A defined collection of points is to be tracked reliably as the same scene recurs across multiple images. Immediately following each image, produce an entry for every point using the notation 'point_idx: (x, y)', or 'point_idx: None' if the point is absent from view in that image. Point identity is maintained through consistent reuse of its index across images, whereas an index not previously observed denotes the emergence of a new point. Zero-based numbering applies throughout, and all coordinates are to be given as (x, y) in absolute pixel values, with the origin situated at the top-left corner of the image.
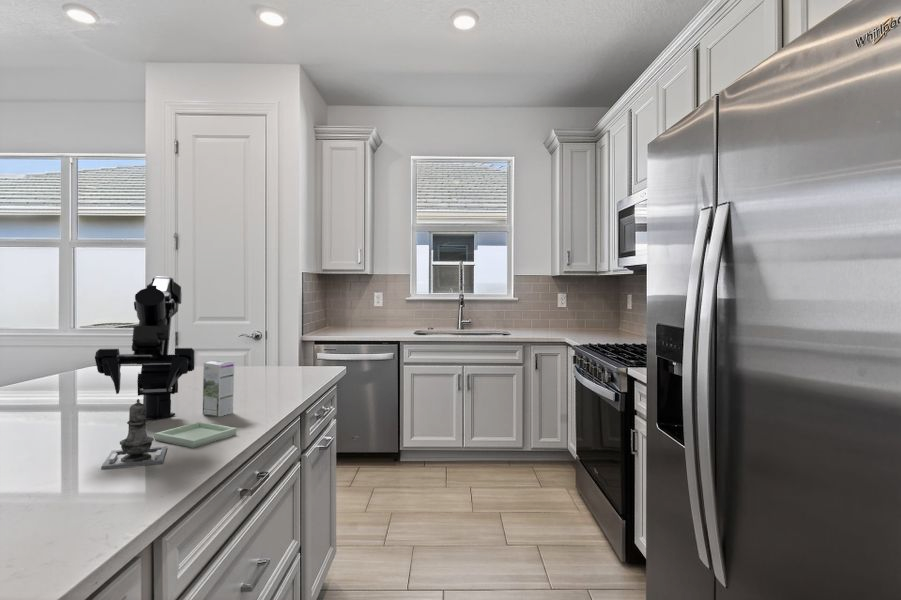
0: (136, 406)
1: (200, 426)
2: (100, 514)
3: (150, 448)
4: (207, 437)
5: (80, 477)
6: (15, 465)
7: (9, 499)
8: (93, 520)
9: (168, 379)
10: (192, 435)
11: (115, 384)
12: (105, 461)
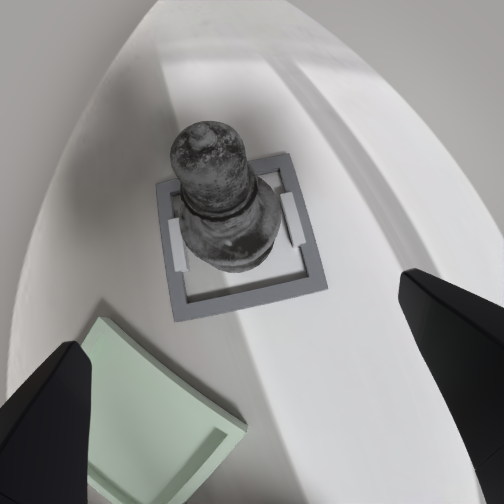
0: (203, 121)
1: None
2: (202, 19)
3: (218, 302)
4: None
5: (306, 116)
6: (478, 210)
7: (355, 55)
8: (204, 11)
9: (33, 392)
10: (137, 431)
11: (453, 288)
12: (297, 187)
